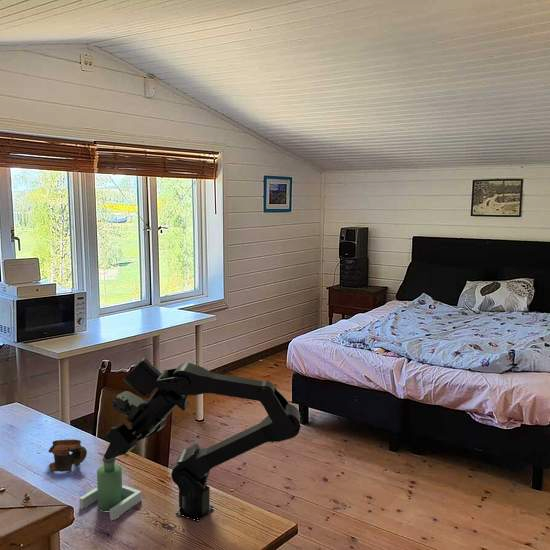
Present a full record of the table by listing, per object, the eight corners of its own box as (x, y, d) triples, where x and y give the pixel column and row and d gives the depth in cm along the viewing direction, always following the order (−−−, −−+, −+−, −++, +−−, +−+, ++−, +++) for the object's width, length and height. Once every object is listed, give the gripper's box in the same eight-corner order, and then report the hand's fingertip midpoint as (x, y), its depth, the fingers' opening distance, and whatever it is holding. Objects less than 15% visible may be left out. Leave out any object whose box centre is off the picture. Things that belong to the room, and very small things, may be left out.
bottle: (127, 503, 133) (126, 455, 131) (110, 514, 128) (109, 465, 127) (110, 496, 136) (109, 450, 134) (92, 507, 131) (91, 459, 129)
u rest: (141, 500, 134) (141, 491, 134) (113, 521, 126) (112, 510, 126) (109, 489, 139) (108, 480, 139) (79, 507, 131) (79, 498, 130)
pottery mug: (38, 473, 147) (41, 441, 150) (63, 473, 156) (66, 443, 159) (75, 470, 143) (77, 436, 146) (99, 470, 151) (100, 439, 155)
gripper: (153, 372, 137) (115, 413, 141) (112, 392, 119) (69, 438, 123) (183, 405, 136) (144, 446, 139) (146, 431, 118) (102, 477, 121)
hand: (116, 450), depth 131 cm, fingers open, 9 cm apart
